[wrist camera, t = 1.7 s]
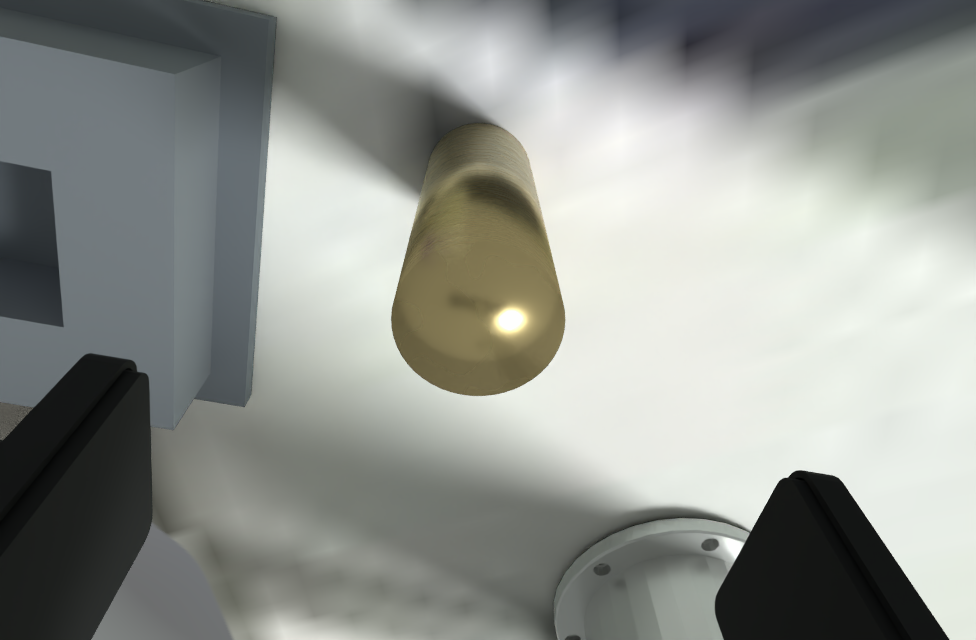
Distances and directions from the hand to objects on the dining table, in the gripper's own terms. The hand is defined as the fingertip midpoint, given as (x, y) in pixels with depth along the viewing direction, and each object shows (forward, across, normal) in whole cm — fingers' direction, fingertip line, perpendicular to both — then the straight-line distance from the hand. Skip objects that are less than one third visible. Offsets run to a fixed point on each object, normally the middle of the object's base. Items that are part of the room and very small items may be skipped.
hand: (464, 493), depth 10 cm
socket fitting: (+18, +16, +5) cm, 24 cm away
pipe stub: (+18, 0, +1) cm, 18 cm away
